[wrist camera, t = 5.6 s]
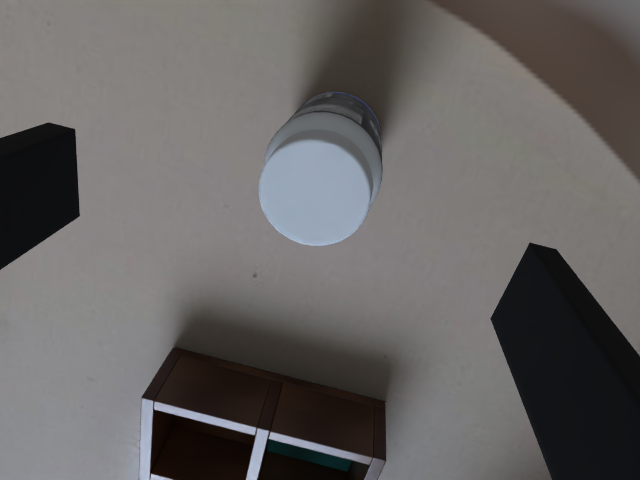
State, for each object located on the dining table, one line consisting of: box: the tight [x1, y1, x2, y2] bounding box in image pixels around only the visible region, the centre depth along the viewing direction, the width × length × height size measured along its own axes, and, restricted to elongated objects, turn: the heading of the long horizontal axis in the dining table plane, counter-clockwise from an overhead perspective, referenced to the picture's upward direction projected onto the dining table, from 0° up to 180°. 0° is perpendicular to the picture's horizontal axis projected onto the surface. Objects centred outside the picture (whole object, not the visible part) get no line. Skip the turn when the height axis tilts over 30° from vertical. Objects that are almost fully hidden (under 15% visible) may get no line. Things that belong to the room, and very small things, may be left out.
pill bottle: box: [258, 92, 382, 246], centre depth 19 cm, size 5×5×8 cm
